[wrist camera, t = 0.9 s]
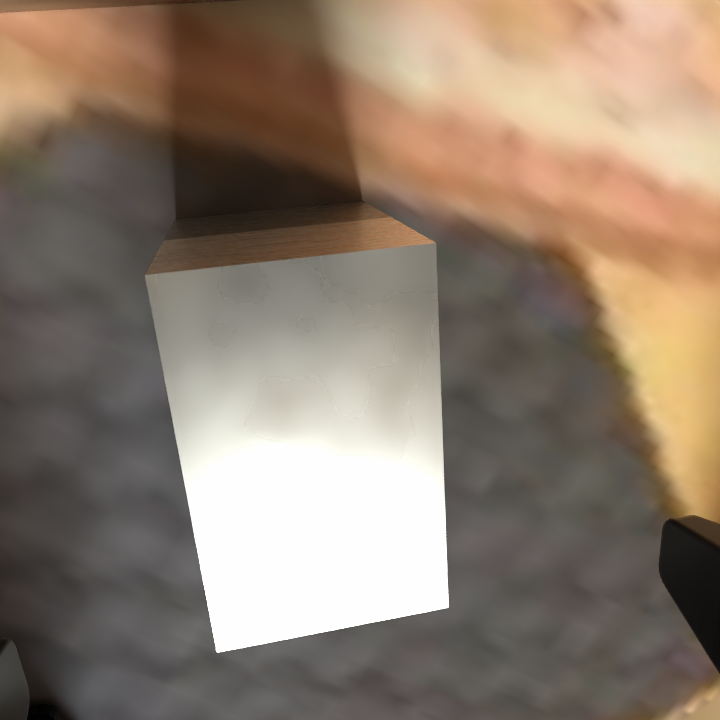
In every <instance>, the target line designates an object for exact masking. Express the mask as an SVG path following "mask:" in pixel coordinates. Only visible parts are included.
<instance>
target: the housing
mask: <svg viewBox="0 0 720 720" xmlns="http://www.w3.org/2000/svg"><path fill="white" fill-rule="evenodd" d="M145 279H146V284H147V290H148V295H149V300H150V305H151V310H152V316H153V321H154V326H155V331H156V337H157V342H158V347H159V352H160V357H161V363H162V368H163V373H164V378H165V384H166V389H167V394H168V399H169V404H170V410H171V415H172V420H173V425H174V431H175V436H176V441H177V446H178V451H179V457H180V462H181V467H182V472H183V478H184V483H185V488H186V493H187V498H188V504H189V509H190V514H191V519H192V524H193V530H194V535H195V540H196V545H197V551H198V556H199V561H200V566H201V571H202V577H203V582H204V587H205V592H206V598H207V603H208V608H209V613H210V618H211V624H212V629H213V634H214V639H215V645H216V650H217V652H222V651H227V650H232V649H237V648H242V647H247V646H252V645H258V644H263V643H268V642H273V641H278V640H283V639H288V638H294V637H299V636H304V635H309V634H314V633H319V632H324V631H330V630H335V629H340V628H345V627H350V626H355V625H360V624H365V623H371V622H376V621H381V620H386V619H391V618H396V617H401V616H407V615H412V614H417V613H422V612H427V611H432V610H437V609H443V608H448V582H447V553H446V524H445V494H444V465H443V436H442V406H441V377H440V347H439V318H438V289H437V259H436V243H435V242H433V241H432V240H430V239H428V238H426V237H425V236H423V235H421V234H419V233H418V232H416V231H414V230H412V229H411V228H409V227H407V226H406V225H404V224H402V223H400V222H399V221H397V220H395V219H393V218H392V217H390V216H388V215H386V214H385V213H383V212H381V211H379V210H378V209H376V208H374V207H373V206H371V205H369V204H367V203H366V202H364V201H355V202H345V203H335V204H325V205H315V206H305V207H295V208H285V209H274V210H264V211H254V212H244V213H234V214H224V215H214V216H204V217H194V218H184V219H176V220H175V222H174V224H173V226H172V227H171V229H170V231H169V233H168V235H167V236H166V238H165V240H164V242H163V244H162V245H161V247H160V249H159V251H158V252H157V254H156V256H155V258H154V260H153V261H152V263H151V265H150V267H149V268H148V270H147V272H146V274H145Z"/></svg>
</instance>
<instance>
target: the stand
mask: <svg viewBox="0 0 720 720" xmlns="http://www.w3.org/2000/svg"><path fill="white" fill-rule="evenodd" d="M216 1H235V0H0V13H4V12H23V11H42V10H62V9H81V8H100V7H119V6H139V5H158V4H177V3H197V2H216Z"/></svg>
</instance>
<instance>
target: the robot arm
mask: <svg viewBox="0 0 720 720" xmlns="http://www.w3.org/2000/svg"><path fill="white" fill-rule="evenodd" d="M659 573H660V577H661V579H662V582H663V584H664V585H665V587H666V589H667V590H668V592H669V593H670V595H671V597H672V598H673V600H674V602H675V603H676V605H677V606H678V608H679V610H680V611H681V613H682V614H683V616H684V618H685V619H686V621H687V622H688V624H689V626H690V627H691V629H692V631H693V632H694V634H695V635H696V637H697V639H698V640H699V642H700V643H701V645H702V647H703V648H704V650H705V651H706V653H707V655H708V656H709V658H710V660H711V661H712V663H713V664H714V666H715V667H716V669H717V670H718V672H719V673H720V524H718V523H715V522H713V521H710V520H707V519H704V518H701V517H698V516H695V515H688V516H682V517H677V518H671V519H669V520H667V521H666V522H665V523H664V525H663V529H662V538H661V547H660V557H659ZM0 720H62V719H61V715H60V712H59V711H58V709H57V708H56V707H54V706H53V705H50V704H37V705H32V706H29V688H28V684H27V681H26V678H25V674H24V671H23V668H22V665H21V661H20V658H19V655H18V652H17V648H16V646H15V644H14V642H13V641H12V640H11V639H9V638H0Z"/></svg>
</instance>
